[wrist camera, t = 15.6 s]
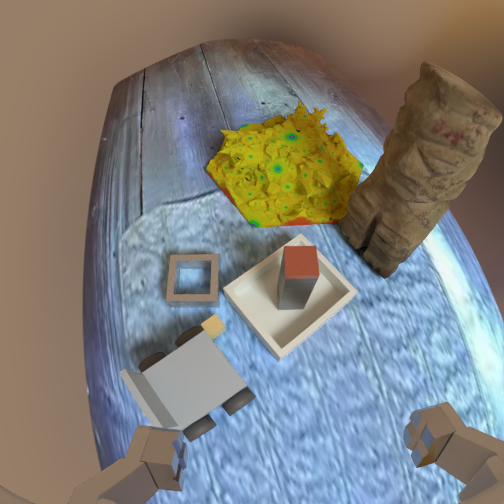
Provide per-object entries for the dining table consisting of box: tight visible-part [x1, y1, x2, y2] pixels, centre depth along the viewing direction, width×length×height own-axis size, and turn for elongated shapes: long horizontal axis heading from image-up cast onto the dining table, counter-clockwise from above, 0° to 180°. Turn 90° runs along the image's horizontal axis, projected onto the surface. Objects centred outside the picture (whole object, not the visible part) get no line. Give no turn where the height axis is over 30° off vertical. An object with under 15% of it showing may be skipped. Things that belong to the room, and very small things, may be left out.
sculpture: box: [338, 61, 502, 279], centre depth 34 cm, size 12×9×30 cm
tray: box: [223, 234, 358, 362], centre depth 41 cm, size 14×12×3 cm
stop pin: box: [277, 246, 320, 310], centre depth 37 cm, size 4×4×11 cm
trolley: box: [119, 326, 256, 442], centre depth 31 cm, size 10×11×12 cm
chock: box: [201, 314, 226, 340], centre depth 39 cm, size 2×2×2 cm
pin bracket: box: [166, 254, 220, 307], centre depth 42 cm, size 7×7×2 cm
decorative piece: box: [206, 100, 364, 228], centre depth 52 cm, size 26×8×30 cm
